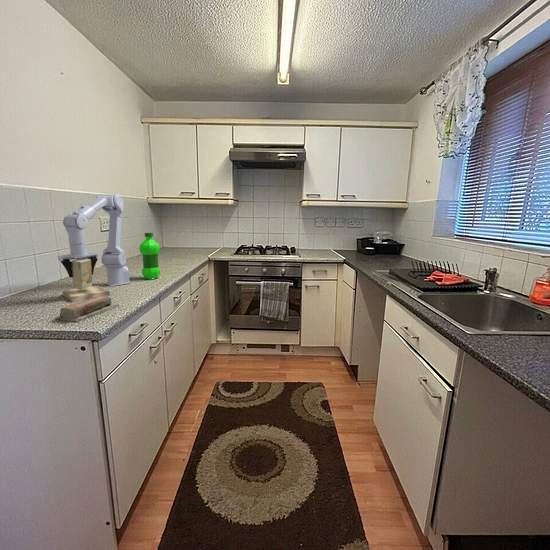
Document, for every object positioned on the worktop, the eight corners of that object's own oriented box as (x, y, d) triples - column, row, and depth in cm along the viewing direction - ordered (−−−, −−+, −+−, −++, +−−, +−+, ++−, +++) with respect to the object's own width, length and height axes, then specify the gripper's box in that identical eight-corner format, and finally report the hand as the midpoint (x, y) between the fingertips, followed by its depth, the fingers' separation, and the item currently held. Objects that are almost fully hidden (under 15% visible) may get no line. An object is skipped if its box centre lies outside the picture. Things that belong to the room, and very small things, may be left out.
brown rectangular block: (77, 309, 96) (53, 307, 98) (79, 323, 97) (55, 320, 99) (118, 295, 113) (96, 293, 115) (119, 307, 114) (98, 305, 116)
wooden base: (98, 289, 138) (98, 285, 137) (109, 295, 129) (109, 290, 128) (62, 295, 127) (62, 290, 127) (72, 301, 118) (71, 297, 118)
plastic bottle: (149, 281, 157) (146, 233, 152) (137, 278, 162) (134, 232, 157) (165, 277, 165) (163, 233, 160) (153, 275, 170) (150, 232, 165)
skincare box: (82, 290, 123) (80, 262, 120) (72, 288, 124) (70, 260, 120) (93, 285, 130) (91, 258, 126) (83, 283, 130) (82, 257, 126)
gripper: (92, 242, 131) (95, 271, 134) (53, 244, 119) (57, 277, 122) (99, 243, 127) (102, 274, 130) (60, 245, 115) (64, 279, 118)
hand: (81, 275), depth 126 cm, fingers closed on skincare box, 7 cm apart
